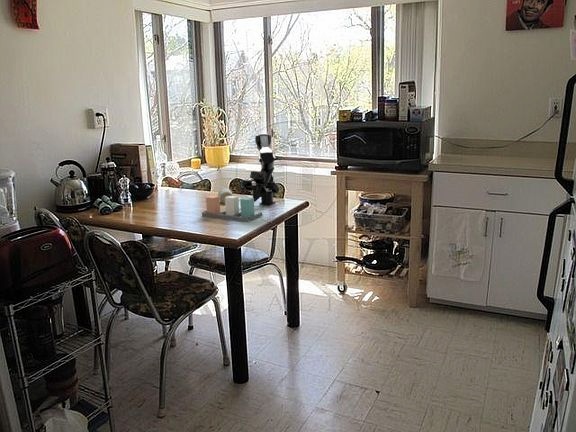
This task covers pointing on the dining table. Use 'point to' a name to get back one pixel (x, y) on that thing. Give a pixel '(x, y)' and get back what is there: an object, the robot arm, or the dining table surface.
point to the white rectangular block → (232, 205)
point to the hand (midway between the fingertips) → (253, 201)
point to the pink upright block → (213, 204)
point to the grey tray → (234, 217)
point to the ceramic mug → (224, 194)
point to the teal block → (247, 207)
